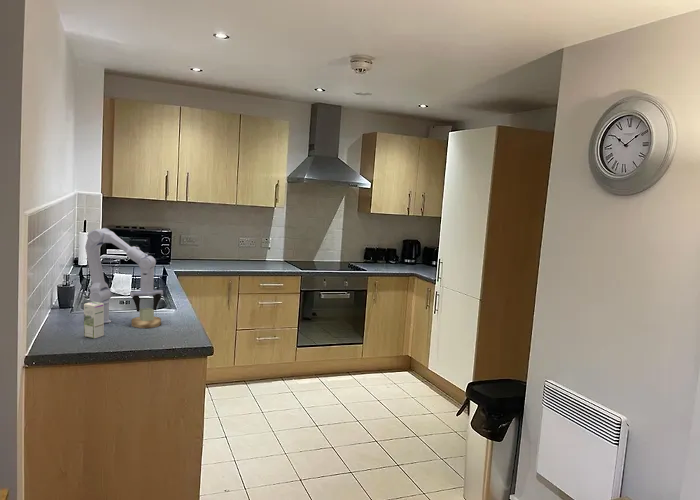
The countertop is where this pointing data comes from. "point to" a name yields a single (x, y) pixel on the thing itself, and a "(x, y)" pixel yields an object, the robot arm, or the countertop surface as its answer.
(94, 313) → the syrup box
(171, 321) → the countertop surface
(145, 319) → the cube
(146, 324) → the base
